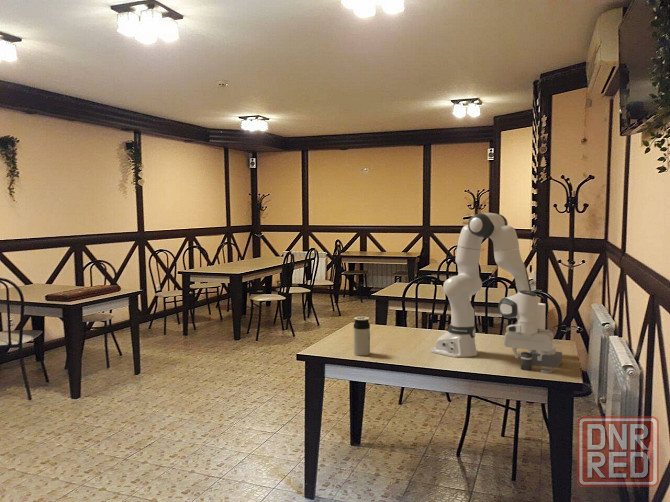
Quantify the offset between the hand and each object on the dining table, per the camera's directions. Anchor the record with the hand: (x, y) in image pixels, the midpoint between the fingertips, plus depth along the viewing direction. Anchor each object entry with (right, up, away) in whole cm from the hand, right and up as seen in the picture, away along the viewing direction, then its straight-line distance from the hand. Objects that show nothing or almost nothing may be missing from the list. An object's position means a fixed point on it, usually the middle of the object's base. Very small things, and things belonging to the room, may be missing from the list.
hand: (528, 359), depth 224 cm
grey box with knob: (+11, -4, +9) cm, 15 cm away
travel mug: (-72, -4, +28) cm, 77 cm away
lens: (-1, -5, +1) cm, 5 cm away
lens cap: (+6, -5, -3) cm, 9 cm away
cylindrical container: (+13, -3, +24) cm, 27 cm away
